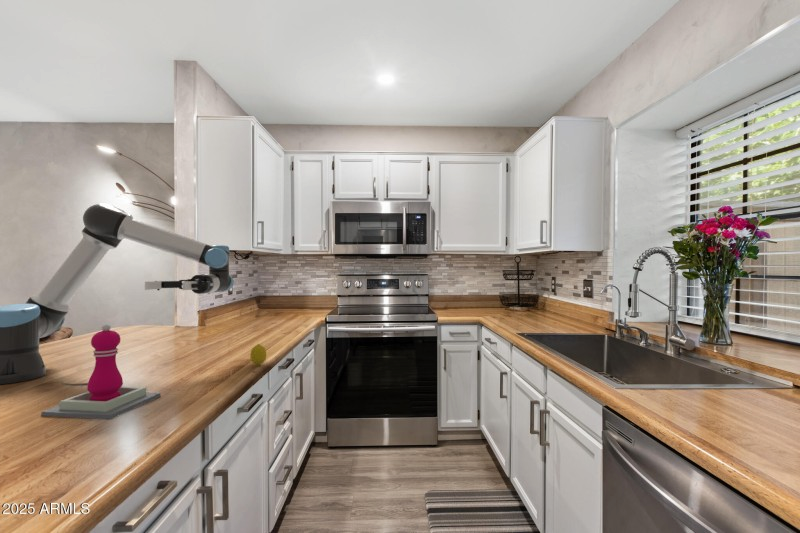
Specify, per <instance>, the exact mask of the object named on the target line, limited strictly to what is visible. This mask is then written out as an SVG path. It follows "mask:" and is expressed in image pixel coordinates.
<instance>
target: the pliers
mask: <svg viewBox="0 0 800 533" xmlns="http://www.w3.org/2000/svg"><path fill="white" fill-rule="evenodd" d="M64 384H65V386H88V382H86V383H85V382H84V383H71V382H70V383H69V382H64V381H61V385H64Z"/></svg>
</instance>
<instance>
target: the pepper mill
mask: <svg viewBox="0 0 800 533" xmlns="http://www.w3.org/2000/svg"><path fill="white" fill-rule="evenodd" d="M101 330H102V331H98V332H96V333H94V335H93V336H92V337H91V340H90V345H91V347H92V348H94V350H93V355H92V356H93V357H95V364H94V368H93V371H92V372H91V375H90V377H89V379H88V382H87V383H88V385H86V386H87V387H86V389H87V392H88V391H89V392H90V393H91V394H92V396H91V397H90V401H108V400H111V399H113V398H116V397H119V396H120V392H119V391H118V390H119V389H120V388H121V386H123V384H124V382H123V381H124V380H123V376H122V374H121V372H120V370H119V369H118V366H117V361H116V358H117V354H119V352H118V350H119V348H118V345H119V344H121V335H120V334H119V333H118V332H117V331H114V330H111V325H109V324H103V325H102V327H101Z"/></svg>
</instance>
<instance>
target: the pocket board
mask: <svg viewBox="0 0 800 533" xmlns="http://www.w3.org/2000/svg"><path fill="white" fill-rule="evenodd" d="M118 391H119V392H120V396H119V397H116V398H113V399H111V400H108V401H90V397H91V396H92V394H91V393H90V392H89V391H88V390H87V391H86V392H82V393H79V394H78V395H74V396H70V397H68V398H66V399H62V400H59V405H56V406H54V407H53V406H52V407H51V408H48V409H45V410H42V411H41V415H40V416H42V417H55V418H59V417H60V418H75V419H76V418H78V419H92V418H93V419H95V420H97V419H98V420H99V419H100V420H112V419H114V418H117V417H118V415H119V416H120V415H123V414H125V413H127V412H129V411H131V410H134V409H136V408H138V407H140V405H141V406H142V404H143V405H144V403H145V404H146V403H149V402H152V401H153V400H155V399H158V398H160V397H161V392H151V391H150V392H148V391H147V387H145V386H127V385H126V386H124V385H122V386H121V388H120V389H119V390H118ZM111 418H112V419H111Z"/></svg>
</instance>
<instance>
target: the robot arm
mask: <svg viewBox="0 0 800 533" xmlns="http://www.w3.org/2000/svg"><path fill="white" fill-rule="evenodd" d="M82 215H83V217H82V221H83V222H82V223H83V224H84V227H83V229H82V230H81V234H82V238H81V239H80V241H79V242H78V244H77V245H76V246H75V247H74V249H73V250H72V251H71V253H70V254H69V256H68V257H66V259H65V261H64V262H62V264H61V265H60V267H59V268H58V269H57V270H56V272H54V274H53V276H52V277H51V278H50V280H49V281H48V282H47V283H46V284H45V286H44V287H43V288H42V290H41V291H40V293H37V294H32V295H31V296H30V297H29V298H28V300H27V301H26V302H25V303H12V304H8V305H7V304H6V305H0V385H6V384H14V383H15V384H16V383H20V382H25V381H31V380H34V379H37V378H41V377H43V376H45V375H46V373H47V368H46V365H45V363H44V360H43V357H42V355H41V353H40V339H41V338H45V337H49V336H50V335H52V334H54V333H56V332H57V331H59V329H61V328H62V327H63V324H64V323H65V321H66V315H67V314H68V312H69V311H70V307H69V304H70V302H71V300H73V298H74V296H75V295H76V294H77V293H78V291H79V290H80V288H81V287H82V286H83V285H84V283H85V282H86V281H87V279H88V278H89V277H90V275H91V274H92V273H93V272H94V270H95V269H96V268H97V266H98V265H99V263H100V262H101V261H102V259H103V258H104V257H105V255H106V254H107V253H108V251H109V250H114V249H116V248H117V247H118V246H119V245H120V244H121V242H122V241H123V239H126V240H129V241H132V242H135V243H138V244H141V245H145V246H147V247H151V248H153V249H157V250H160V251H162V252H165V253H169V254H172V255H175V256H178V257H180V258H181V257H182V258H184V259H187V260H191V261H193V262H197V263H200V264H202V265H205V266H208V267H209V268H208V273H203V274H202V273H201V274H200V273H199V274H195V275H193V276H192V277H191V278H187V279H179V280H154V281H153V280H152V281H144V290H145V291H146V290H147V291H149V290H157V291H160V290H161V289H179V290H182V291H192V292H193V293H195V294H197V295H202V294H207V295H210V294H211V293H223V292H228V291H230V290H231V289H232V288H233V286H234V283H235V282H234V278H233V276H232V275H230V247H229V245H224V244H223V245H219V244H216V245H215V244H214V245H209V244H207V243H205V242H201V241H199V240H196V239H192V238H190V237H188V236H187V237H186V236H183V235H182V234H178V233H177V232H176V233H175V232H172V231H169V230H167V229H164V228H161V227H158V226H156V225H152V224H150V223H147V222H144V221H142V220H138V219H135V218H134V216H133V215H132V214H130V213H128V212H126V211H124V210H123V209H120V208H117V207H116V206H113V205H111V204H108V203H96V204H94V205H91V206H89V207H88V208H87V209H86V210H85V211H84V213H83V214H82Z"/></svg>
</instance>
